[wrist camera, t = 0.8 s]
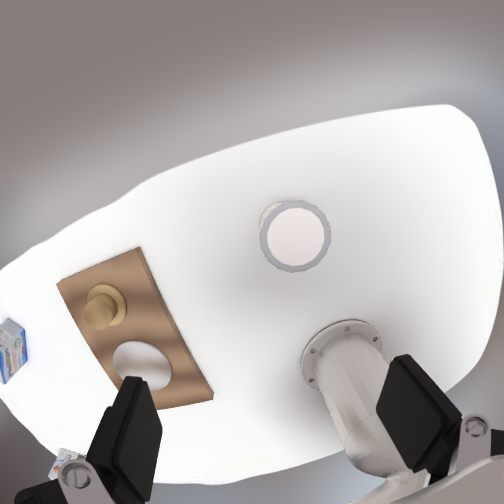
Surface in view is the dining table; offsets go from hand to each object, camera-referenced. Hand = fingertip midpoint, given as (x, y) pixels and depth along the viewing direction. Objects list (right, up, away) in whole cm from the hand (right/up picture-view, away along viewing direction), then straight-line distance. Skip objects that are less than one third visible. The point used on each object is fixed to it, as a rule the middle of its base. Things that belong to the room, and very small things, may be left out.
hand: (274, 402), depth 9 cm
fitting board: (-17, -7, +26) cm, 32 cm away
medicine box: (-43, -10, +25) cm, 51 cm away
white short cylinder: (+3, +9, +24) cm, 25 cm away
